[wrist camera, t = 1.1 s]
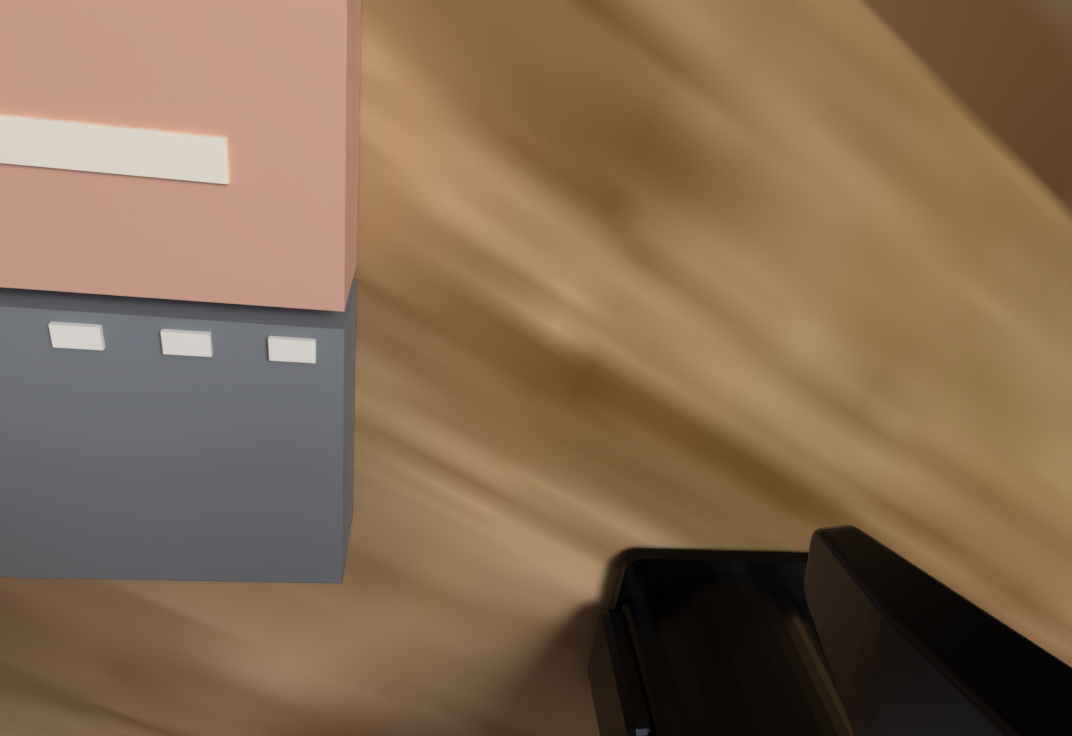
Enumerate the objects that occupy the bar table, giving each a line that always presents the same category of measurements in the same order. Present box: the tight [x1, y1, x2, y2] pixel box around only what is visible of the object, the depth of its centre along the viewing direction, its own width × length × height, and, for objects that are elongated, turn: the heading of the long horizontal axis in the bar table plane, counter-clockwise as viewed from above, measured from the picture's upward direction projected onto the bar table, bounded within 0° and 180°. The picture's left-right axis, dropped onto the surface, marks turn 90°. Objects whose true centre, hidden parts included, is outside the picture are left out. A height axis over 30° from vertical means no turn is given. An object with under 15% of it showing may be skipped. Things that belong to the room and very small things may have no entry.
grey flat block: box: [0, 279, 357, 584], centre depth 17 cm, size 14×7×3 cm, turn 83°
